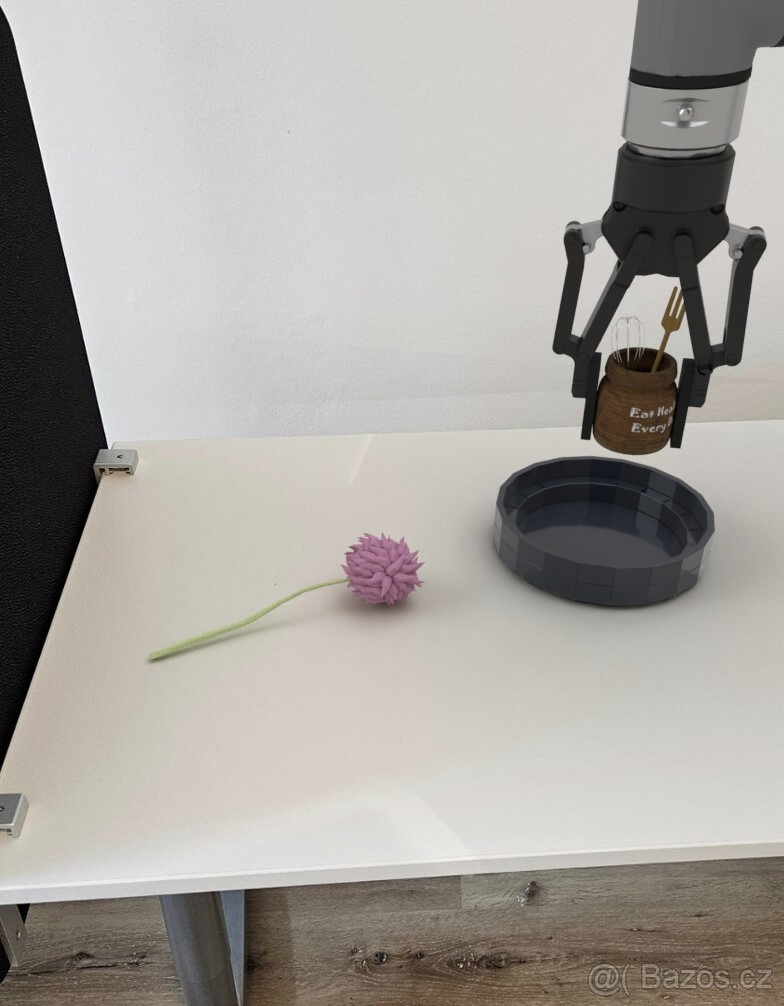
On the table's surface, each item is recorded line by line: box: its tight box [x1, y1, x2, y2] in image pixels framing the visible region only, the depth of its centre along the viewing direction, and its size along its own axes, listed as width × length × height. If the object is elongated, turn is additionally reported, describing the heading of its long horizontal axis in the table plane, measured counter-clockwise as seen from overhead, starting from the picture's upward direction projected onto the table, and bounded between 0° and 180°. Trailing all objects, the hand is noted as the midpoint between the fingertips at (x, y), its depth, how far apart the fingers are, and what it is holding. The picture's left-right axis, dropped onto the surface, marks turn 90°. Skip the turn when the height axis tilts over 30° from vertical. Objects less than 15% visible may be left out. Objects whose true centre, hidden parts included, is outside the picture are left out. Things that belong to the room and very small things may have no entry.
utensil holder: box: [591, 285, 686, 456], centre depth 83 cm, size 6×6×12 cm
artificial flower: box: [148, 531, 426, 660], centre depth 91 cm, size 7×7×25 cm
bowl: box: [492, 455, 716, 606], centre depth 97 cm, size 18×18×4 cm
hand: (630, 435), depth 86 cm, fingers closed on utensil holder, 6 cm apart
